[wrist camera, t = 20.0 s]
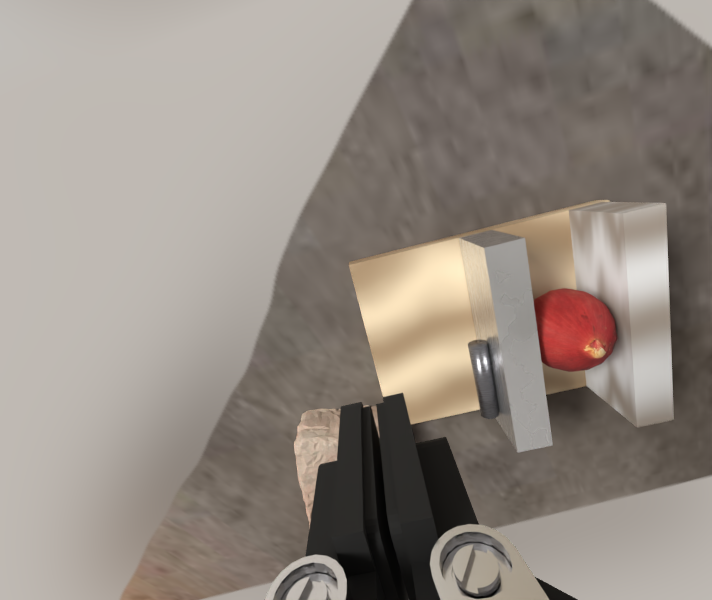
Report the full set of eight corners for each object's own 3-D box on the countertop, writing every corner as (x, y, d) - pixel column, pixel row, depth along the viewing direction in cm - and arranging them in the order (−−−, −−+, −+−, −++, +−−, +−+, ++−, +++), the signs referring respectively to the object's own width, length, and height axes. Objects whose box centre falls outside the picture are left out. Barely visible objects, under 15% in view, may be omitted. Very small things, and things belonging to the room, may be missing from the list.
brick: (297, 410, 35) (288, 442, 30) (388, 401, 35) (392, 432, 30) (321, 550, 39) (317, 596, 35) (402, 543, 39) (408, 589, 34)
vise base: (610, 370, 33) (681, 418, 26) (390, 419, 35) (398, 477, 27) (596, 200, 30) (674, 200, 22) (349, 261, 31) (347, 281, 24)
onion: (589, 287, 30) (670, 319, 22) (563, 353, 31) (631, 404, 24) (519, 272, 30) (576, 298, 22) (496, 339, 31) (542, 386, 23)
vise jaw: (518, 401, 32) (552, 445, 27) (473, 411, 33) (497, 456, 27) (491, 229, 29) (525, 237, 23) (440, 242, 29) (461, 253, 23)
